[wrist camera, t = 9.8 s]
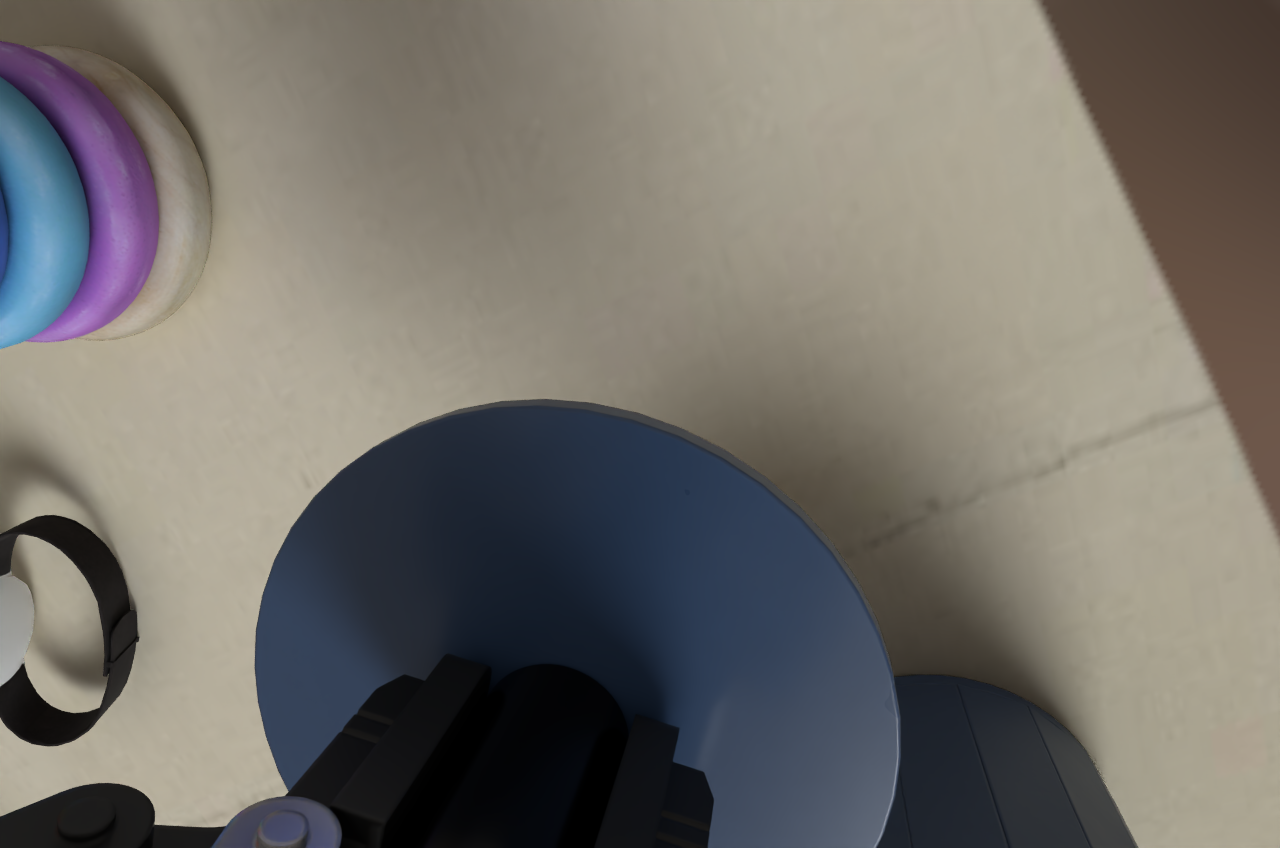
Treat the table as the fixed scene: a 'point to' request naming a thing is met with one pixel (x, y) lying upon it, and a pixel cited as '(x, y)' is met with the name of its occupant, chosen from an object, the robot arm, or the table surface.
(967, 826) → the pot
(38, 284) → the stacking toy
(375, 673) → the lid
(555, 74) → the table surface
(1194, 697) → the table surface
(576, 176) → the table surface
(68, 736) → the watch
